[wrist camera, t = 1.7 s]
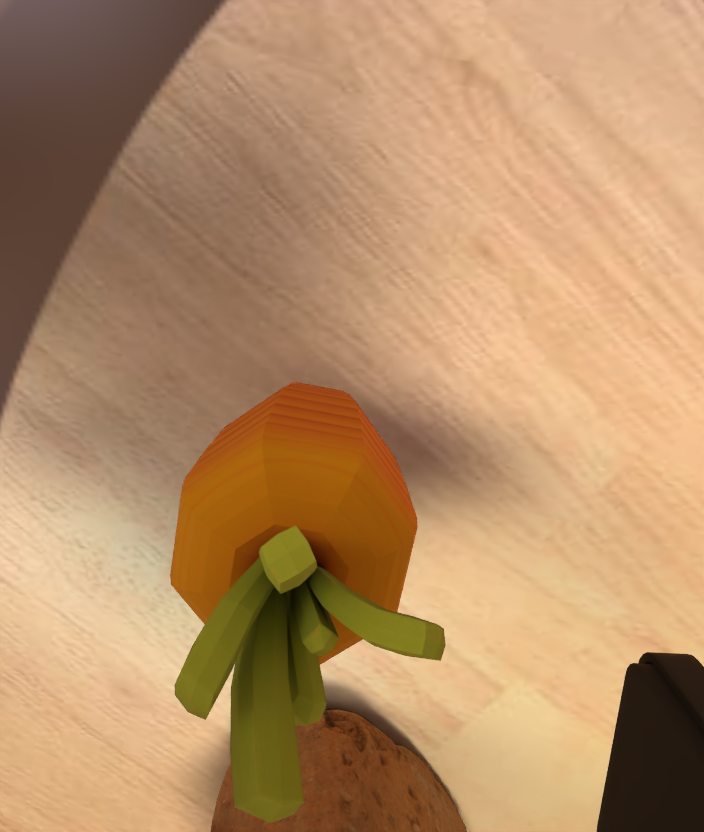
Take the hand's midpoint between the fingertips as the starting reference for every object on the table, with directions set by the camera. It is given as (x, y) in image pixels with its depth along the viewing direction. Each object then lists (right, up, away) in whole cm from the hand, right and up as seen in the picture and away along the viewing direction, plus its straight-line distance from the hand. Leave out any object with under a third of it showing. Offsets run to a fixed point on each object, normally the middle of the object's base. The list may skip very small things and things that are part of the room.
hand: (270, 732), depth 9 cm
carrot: (0, +4, +14) cm, 15 cm away
